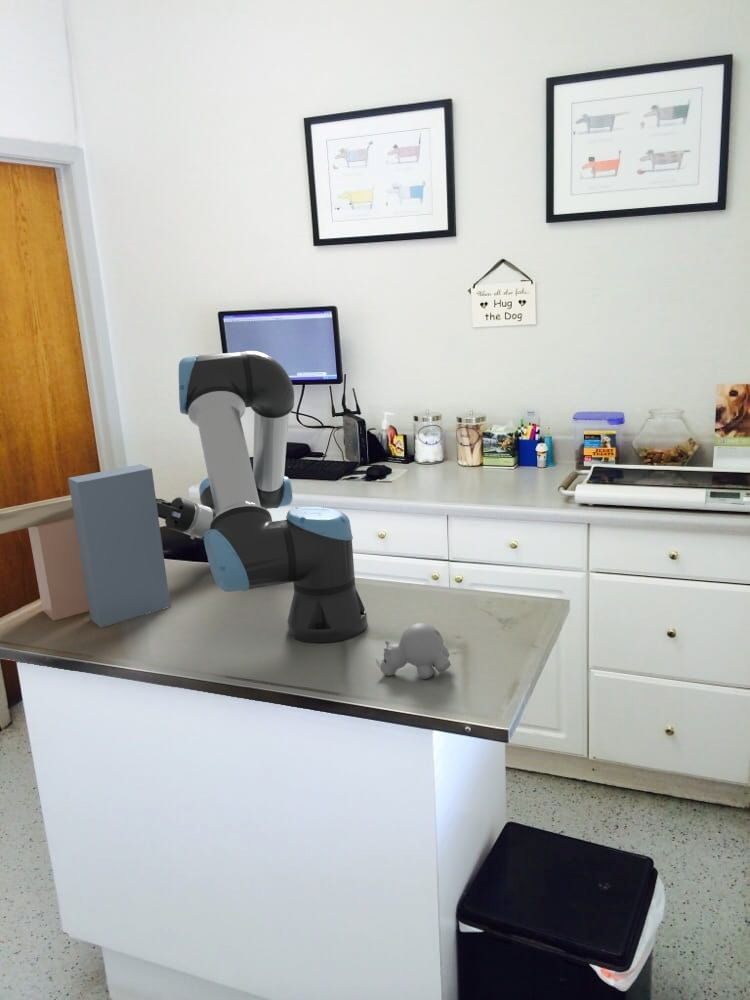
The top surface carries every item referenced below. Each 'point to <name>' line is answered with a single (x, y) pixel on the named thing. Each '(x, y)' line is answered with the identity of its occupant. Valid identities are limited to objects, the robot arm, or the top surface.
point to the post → (119, 543)
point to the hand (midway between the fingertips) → (99, 487)
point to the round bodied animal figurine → (416, 652)
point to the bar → (36, 514)
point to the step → (59, 569)
